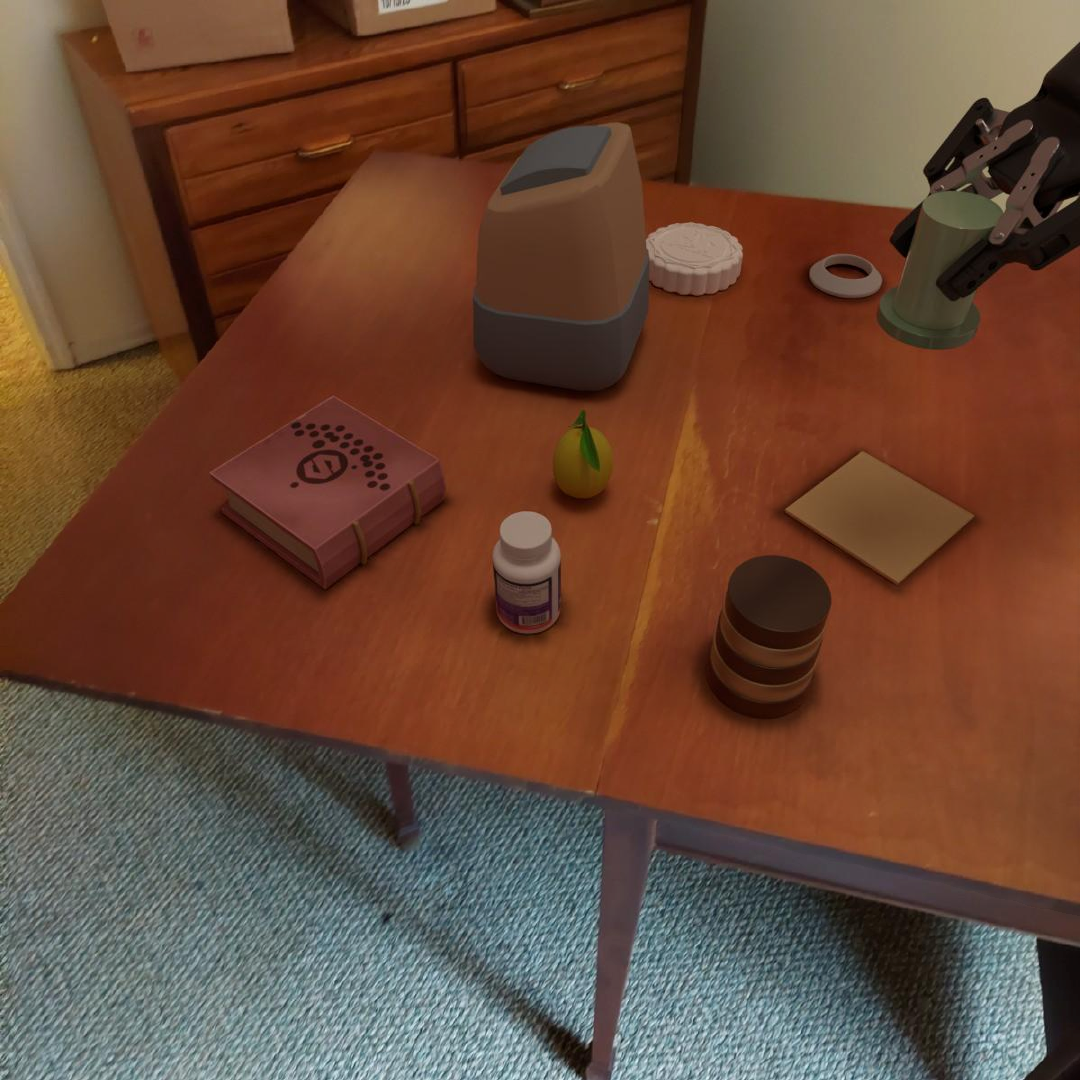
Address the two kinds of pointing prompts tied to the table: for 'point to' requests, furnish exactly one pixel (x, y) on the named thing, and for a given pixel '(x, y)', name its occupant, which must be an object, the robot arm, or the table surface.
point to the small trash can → (564, 262)
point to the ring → (842, 285)
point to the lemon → (582, 460)
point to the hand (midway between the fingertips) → (920, 270)
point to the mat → (879, 516)
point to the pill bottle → (527, 573)
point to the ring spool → (938, 273)
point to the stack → (768, 636)
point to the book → (330, 489)
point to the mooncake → (693, 258)
